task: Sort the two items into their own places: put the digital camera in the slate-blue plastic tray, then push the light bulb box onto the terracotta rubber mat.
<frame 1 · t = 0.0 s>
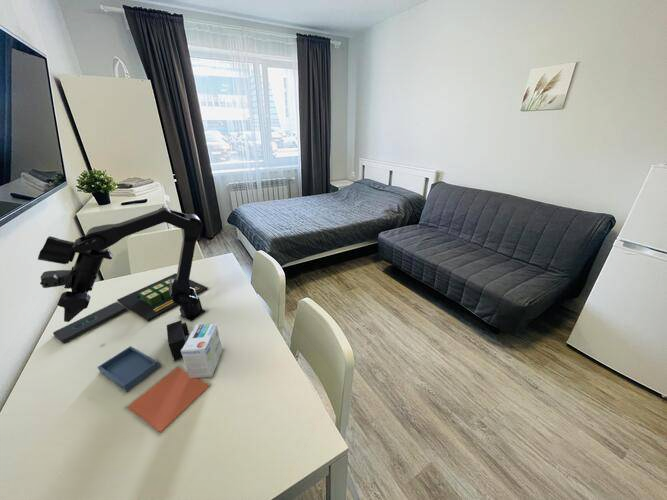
hand: (69, 313, 82), 15 cm above the table, tool tilted 35°, fingers open, 9 cm apart
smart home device: (93, 322, 101), on the table
light bulb box: (207, 364, 82), on the table, touching terracotta mat
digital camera: (182, 347, 88), on the table
slate tray: (130, 370, 80), on the table
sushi: (164, 295, 116), on the table
terracotta mat: (170, 396, 72), on the table
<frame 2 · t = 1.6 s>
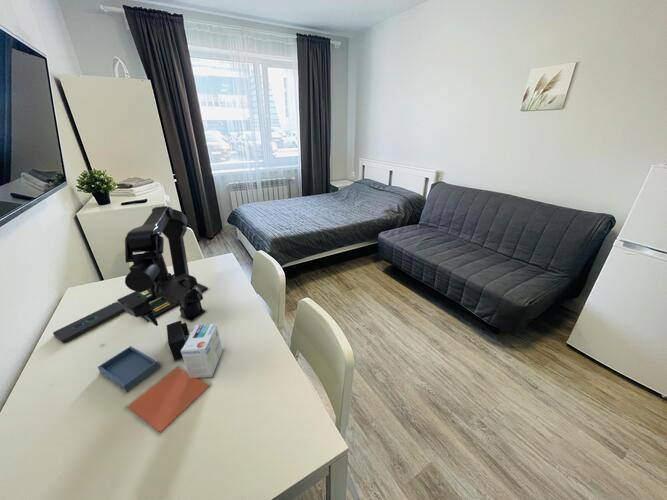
hand: (171, 316, 83), 13 cm above the table, tool pointing down, fingers open, 9 cm apart
nothing on the table moved.
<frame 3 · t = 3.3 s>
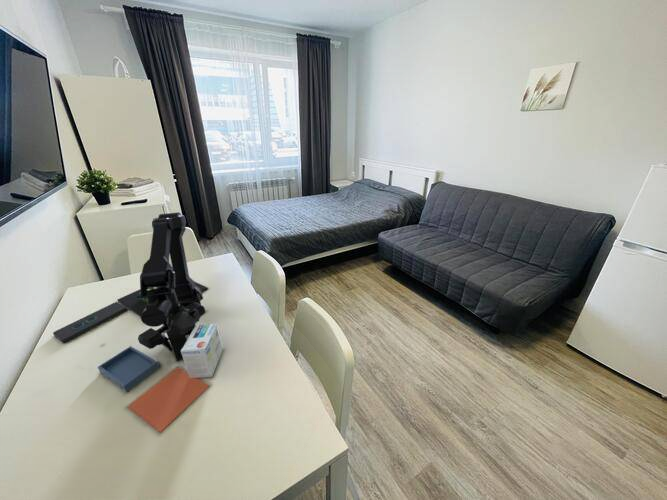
hand: (181, 343, 87), 2 cm above the table, tool pointing down, fingers closed on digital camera, 7 cm apart
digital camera: (182, 348, 88), on the table, touching gripper
everything else where it was.
when the fingers open (2 cm above the table, at t = 8.5 s): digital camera stays where it is, resting on slate tray.
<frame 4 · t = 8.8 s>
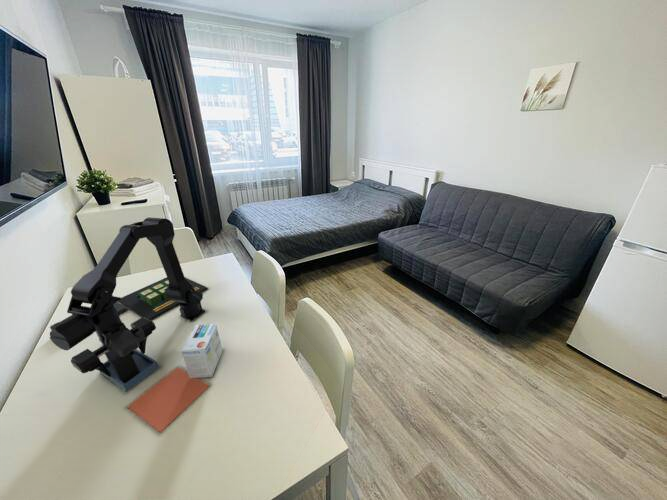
hand: (127, 364, 79), 3 cm above the table, tool pointing down, fingers open, 9 cm apart
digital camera: (128, 369, 80), resting on slate tray
everything else where it was.
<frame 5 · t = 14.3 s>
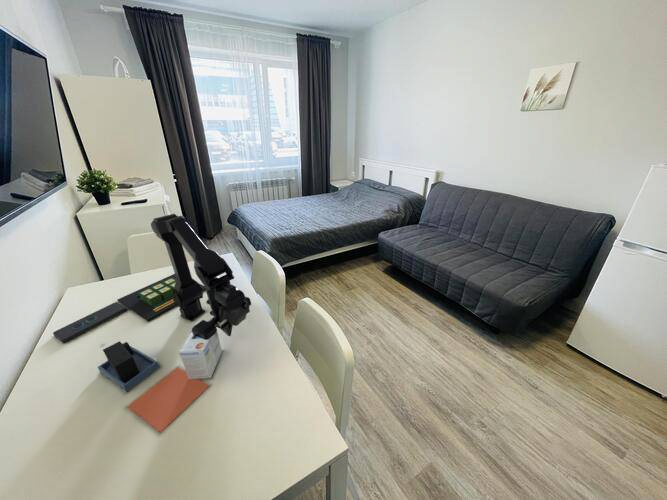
hand: (229, 335, 88), 3 cm above the table, tool pointing down, fingers closed
light bulb box: (206, 365, 81), on the table, touching gripper, terracotta mat
everything else where it was.
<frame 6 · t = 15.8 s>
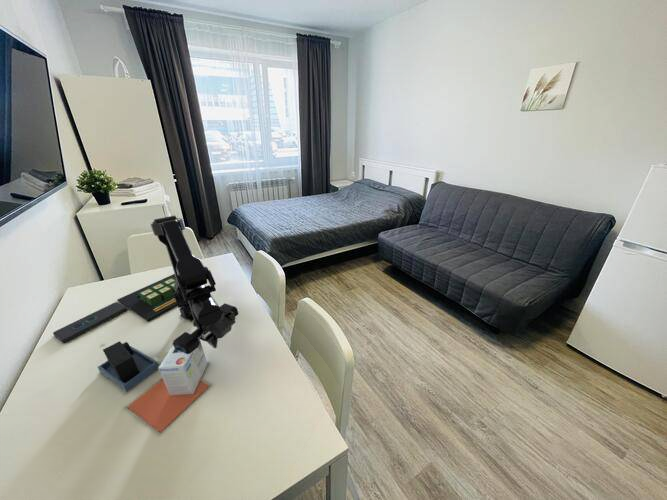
hand: (214, 347, 83), 4 cm above the table, tool pointing down, fingers closed
light bulb box: (190, 379, 77), on the table, touching gripper, terracotta mat
everything else where it was.
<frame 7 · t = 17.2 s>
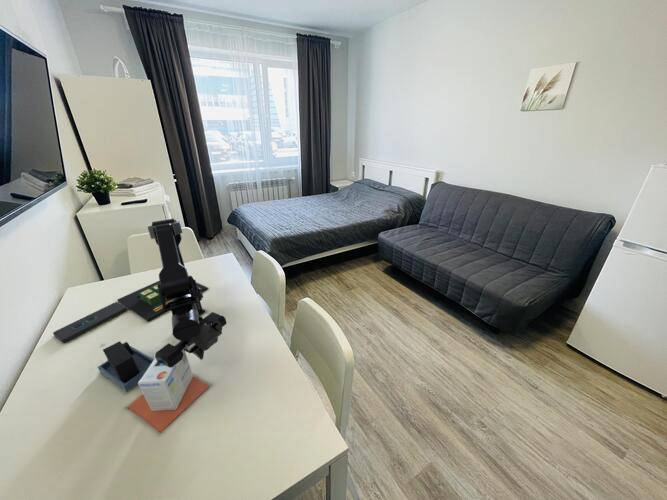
hand: (201, 358, 79), 4 cm above the table, tool pointing down, fingers closed
light bulb box: (174, 393, 73), resting on terracotta mat, touching gripper
everything else where it was.
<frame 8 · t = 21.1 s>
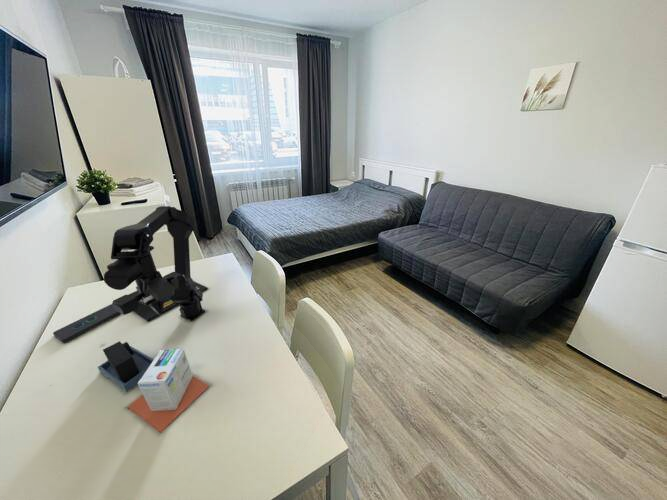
hand: (160, 314, 84), 13 cm above the table, tool pointing down, fingers closed
light bulb box: (173, 393, 73), resting on terracotta mat
everything else where it was.
at the end: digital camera inside the target area in the slate tray (0.4 cm from its centre), point 0.4 cm above the slate tray's base; light bulb box inside the target area on the terracotta mat (1.1 cm from its centre), point 0.0 cm above the terracotta mat's base; light bulb box tilted 0° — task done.
